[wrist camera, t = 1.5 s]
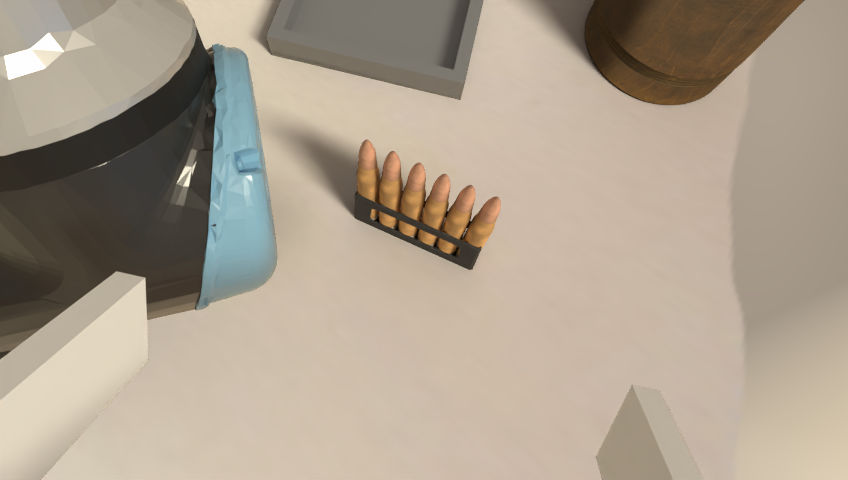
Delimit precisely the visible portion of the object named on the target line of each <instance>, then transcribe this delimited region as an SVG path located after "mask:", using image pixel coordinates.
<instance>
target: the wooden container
mask: <svg viewBox="0 0 848 480" xmlns="http://www.w3.org/2000/svg"><path fill="white" fill-rule="evenodd" d="M803 1H804V0H595V1H594V3H593V5H592V7H591V9H590V11H589V13H588V16H587V19H586V23H585V40H586V44H587V48H588V50H589V53H590V56H591V58H592V59H593V61H594V63H595V65H596V66H597V68H598V69H599V70H600V72H601V73H602V74H603V75H604V76H605V77H606V78H607V79H608V80H609V81H610V82H612V83H613V84H614V85H615V86H617V87H618V88H619V89H621V90H622V91H624V92H626V93H627V94H629V95H631V96H633V97H635V98H638V99H640V100H643V101H646V102H650V103H654V104H661V105H680V104H686V103H690V102H693V101H696V100H698V99H700V98H702V97H704V96H706V95H707V94H709V93H710V92H711V91H712V90H713V89H715V88H716V87H717V86H718V85H719V84H720V83H721V82H722V81H723V80H724V79H725V78H726V77H727V76H728V75H729V74H730V73H732V71H733V70H734V69H735V68H737V67H738V66H739V65H740V64H741V63H742V62H744V61H745V60H746V59H747V58H748V57H749V56H750V55H751V54H752V53H753V52H754V51H755V50H756V49H757V48H758V47H759V46H760V45H761V44H762V43H763V42H764V41H765V40H766V39H767V38H768V37H769V36H770V35H771V34H772V33H773V32H774V31H775V30H776V29H777V28H778V27H779V26H780V25H781V24H782V23H783V22H784V21H785V19H786V18H787V17H788V16H789V15H790V14H791V13H792V12H793V11H794V10H795V9H796V8H797V7H798V6H799V5H800V4H801V3H802V2H803Z"/></svg>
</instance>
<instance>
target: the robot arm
mask: <svg viewBox="0 0 848 480" xmlns="http://www.w3.org/2000/svg"><path fill="white" fill-rule="evenodd" d="M218 45H219V44H215V45H212V47H211V48H209V49H207V50H206V49H205V48H204V46H203V43H202V41H201V38H200V35H199V33H198V30H197V28H196V25H195V21H194V19H193V17H192V15H191V13H190V11H189V9H188V7H187V6H186V4H185V3H184V1H183V0H0V480H41V479H42V478H43V477H44V475H45V474H46V473H47V472H48V471H49V470H50V469H51V468H52V467H53V465H54V464H55V463H56V462H57V461H58V460H59V459H60V458H61V457H62V455H63V454H64V453H65V452H66V451H67V450H68V449H69V448H70V447H71V445H72V444H73V443H74V442H75V441H76V440H77V439H78V438H79V437H80V435H81V434H82V433H83V432H84V431H85V430H86V429H87V428H88V427H89V425H90V424H91V423H92V422H93V421H94V420H95V419H96V418H97V417H98V415H99V414H100V413H101V412H102V411H103V410H104V409H105V408H106V407H107V405H108V404H109V403H110V402H111V401H112V400H113V399H114V398H115V397H116V395H117V394H118V393H119V392H120V391H121V390H122V389H123V388H124V387H125V385H126V384H127V383H128V382H129V381H130V380H131V379H132V378H133V377H134V375H135V374H136V373H137V372H138V371H139V370H140V369H141V368H142V367H143V365H144V364H145V363H146V362H147V361H148V360H149V359H148V333H147V320H149V319H153V318H158V317H162V316H167V315H171V314H175V313H180V312H184V311H189V310H193V309H195V310H201V309H204V308H206V307H207V306H208V305H209V304H210V303H212V302H216V301H219V300H222V299H226V298H229V297H232V296H236V295H239V294H242V293H246V292H249V291H252V290H254V289H257V288H259V287H260V286H262V285H263V284H265V283H266V282H267V281H268V280H269V278H270V277H271V276H272V274H273V272H274V270H275V268H276V264H277V246H276V238H275V230H274V223H273V215H272V208H271V201H270V194H269V187H268V180H267V174H266V167H265V160H264V154H263V148H262V142H261V135H260V128H259V121H258V115H257V109H256V102H255V96H254V90H253V84H252V79H251V74H250V70H249V63H248V58H247V56H246V54H245V53H244V52H243V51H242V50H240V49H238V48H234V47H233V48H228V47H225V46H223V45H219V46H218ZM596 459H597V463H598V467H599V470H600V474H601V477H602V480H704V478H703V476H702V474H701V472H700V470H699V468H698V466H697V464H696V462H695V460H694V458H693V456H692V454H691V452H690V450H689V448H688V446H687V444H686V442H685V440H684V438H683V436H682V434H681V432H680V430H679V428H678V426H677V424H676V422H675V420H674V418H673V416H672V414H671V412H670V410H669V408H668V406H667V404H666V402H665V400H664V398H663V396H662V394H661V392H660V391H658V390H653V389H649V388H644V387H640V386H635V385H632V386H631V388H630V390H629V392H628V394H627V396H626V398H625V400H624V402H623V404H622V406H621V408H620V410H619V412H618V414H617V416H616V418H615V420H614V422H613V424H612V426H611V428H610V430H609V432H608V434H607V436H606V438H605V440H604V442H603V444H602V446H601V448H600V450H599V452H598V454H597V456H596Z"/></svg>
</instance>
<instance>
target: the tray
mask: <svg viewBox="0 0 848 480" xmlns="http://www.w3.org/2000/svg"><path fill="white" fill-rule="evenodd" d="M482 4H483V0H281V1H280V3H279V5H278V8H277V10H276V13H275V15H274V18H273V20H272V23H271V25H270V28H269V30H268V33H267V35H266V38H267V42H268V45H269V48H270V52H271V55H275V56H279V57H283V58H288V59H292V60H296V61H300V62H304V63H309V64H313V65H317V66H321V67H325V68H329V69H334V70H338V71H342V72H346V73H350V74H355V75H359V76H363V77H367V78H371V79H376V80H380V81H384V82H388V83H392V84H397V85H401V86H405V87H409V88H413V89H417V90H422V91H426V92H430V93H434V94H438V95H443V96H447V97H451V98H455V99H459V100H460V98H461V95H462V91H463V87H464V83H465V79H466V74H467V70H468V66H469V61H470V57H471V52H472V48H473V44H474V39H475V35H476V30H477V26H478V22H479V17H480V13H481V8H482Z"/></svg>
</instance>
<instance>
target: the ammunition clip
mask: <svg viewBox="0 0 848 480" xmlns="http://www.w3.org/2000/svg"><path fill="white" fill-rule="evenodd" d="M425 181H426V175H425V169H424V167H423V165H422V164H421V163H417V164H415V165H414V166H413V168H412V169H411V171H410V173H409V176H408V180H407V184H406V186H405V188H404V190H403V191H402V187H403V183H402V178H401V165H400V160H399V157H398V155H397V154H396V152H394V151H392V152H390V153H389V154H388V155H387V157H386V159H385V162H384V166H383V172H382V177H381V179H380V174H379V169H378V166H377V160H376V152H375V149H374V147H373V145H372V143H371V142H370V141H369V140H365V141H364V142H363V143H362V145H361V147H360V151H359V161H358V169H357V186H358V192H356V193H355V218H356V219H357V220H360V221H362V222H364V223H366V224H369V225H371V226H373V227H375V228H377V229H380V230H382V231H384V232H386V233H389V234H391V235H393V236H395V237H398V238H400V239H402V240H404V241H406V242H409V243H411V244H413V245H415V246H418V247H420V248H422V249H424V250H426V251H429V252H431V253H433V254H435V255H438V256H440V257H442V258H444V259H446V260H449V261H451V262H453V263H455V264H458V265H460V266H462V267H464V268H466V269H469V270H471V269H473V266H474V264H475V262H476V260H477V257H478V255H479V253H480V251H481V249H482V248H483V246H484V244H485V243H486V241H487V239H488V238H489V236H490V234H491V233H492V231H493V229H494V226H495V222H496V219H497V217H498V215H499V212H500V207H501V202H500V199H499V197H493V198H491V199H489V200H488V201H487V202H486V203H485V204H484V205H483V207H482V208H481V210H480V211H479V213H478V214H477V215H475V216H474V218H473V219H472V221H470V219H471V215H472V208H473V205H474V201H475V189H474V187H473V186H472V185H469V186H467V187H465V188H464V189H463V190H462V191H461V192H460V194H459V195H458V197H457V199H456V201H455V202H454V204H453V205H452V206H451V208H450V209H449V211H447V209H448V205H449V203H448V198H449V192H450V180H449V177H448V176H447V175H446V174H442V175H441V176H440V177H438V179H437V180H436V181H435V183H434V185H433V188H432V190H431V193H430V195H429V196H428V198H427V199H426V201H425V197H426V192H425ZM401 198H402V202H401ZM400 207H401V210H400ZM423 208H424V211H423ZM422 211H423V215H422ZM421 216H422V219H421ZM445 217H446V220H445V222H444V219H445ZM443 222H444V225H443ZM442 225H443V228H442ZM441 228H442V229H441ZM466 228H468V229H467V231H466V233H465V235H464V237H463V234H464V232H465V230H466ZM462 237H463V238H462Z"/></svg>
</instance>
